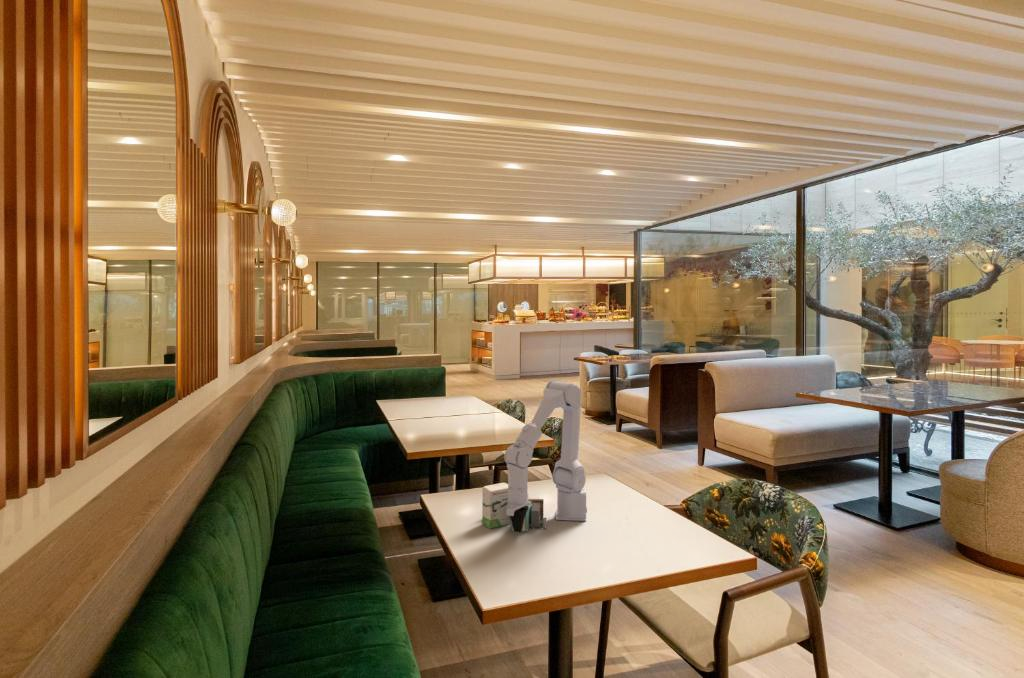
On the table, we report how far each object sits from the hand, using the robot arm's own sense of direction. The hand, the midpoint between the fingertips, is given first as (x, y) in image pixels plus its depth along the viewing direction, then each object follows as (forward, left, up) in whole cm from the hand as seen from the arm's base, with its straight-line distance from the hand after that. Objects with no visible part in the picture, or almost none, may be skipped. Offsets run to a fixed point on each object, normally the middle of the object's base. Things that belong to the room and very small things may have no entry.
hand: (517, 531), depth 173 cm
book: (-1, -6, -1) cm, 6 cm away
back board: (+1, -13, -1) cm, 13 cm away
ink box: (+7, -8, -1) cm, 11 cm away
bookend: (-5, -9, -1) cm, 10 cm away
